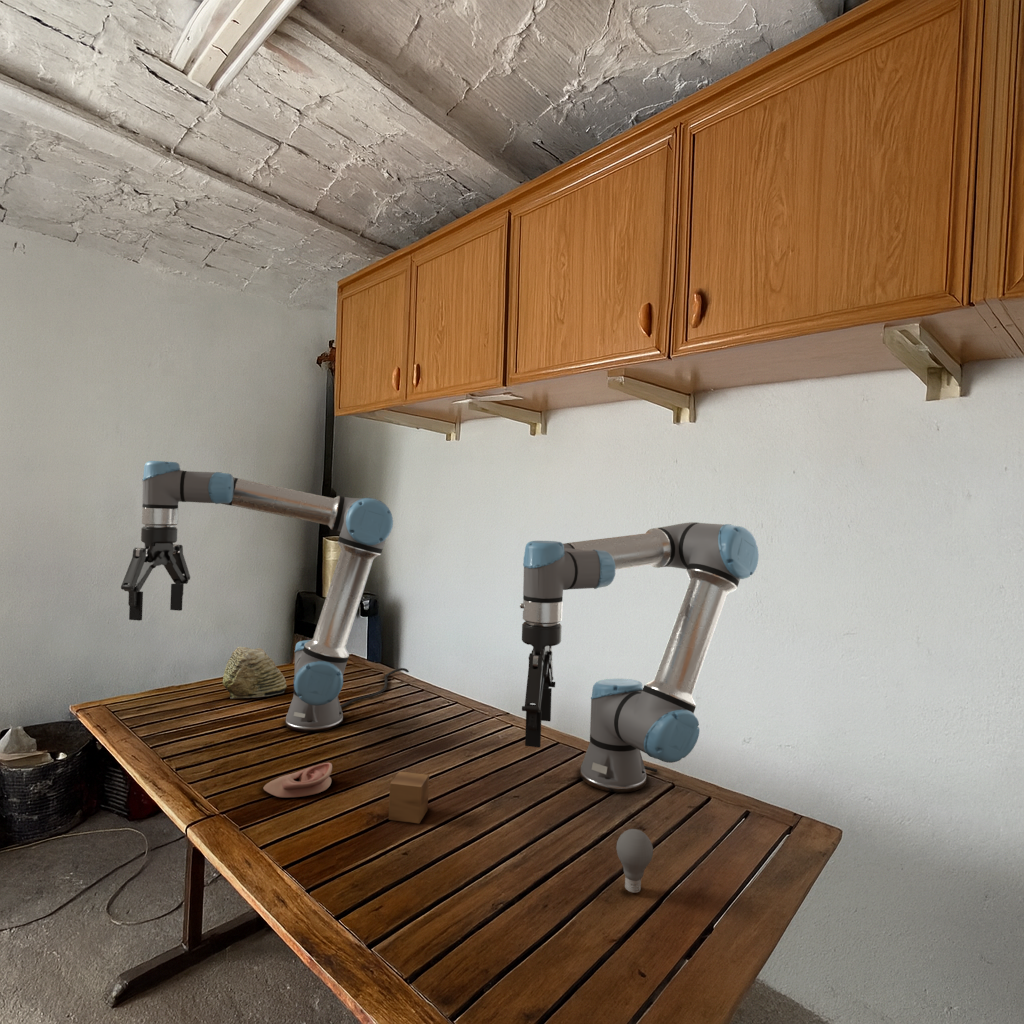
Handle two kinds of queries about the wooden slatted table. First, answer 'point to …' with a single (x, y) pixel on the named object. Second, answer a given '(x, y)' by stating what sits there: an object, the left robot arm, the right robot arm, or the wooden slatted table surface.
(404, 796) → the block
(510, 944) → the wooden slatted table surface
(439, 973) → the wooden slatted table surface
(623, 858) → the light bulb
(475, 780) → the wooden slatted table surface
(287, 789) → the anatomical model
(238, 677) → the fossil
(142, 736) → the wooden slatted table surface
